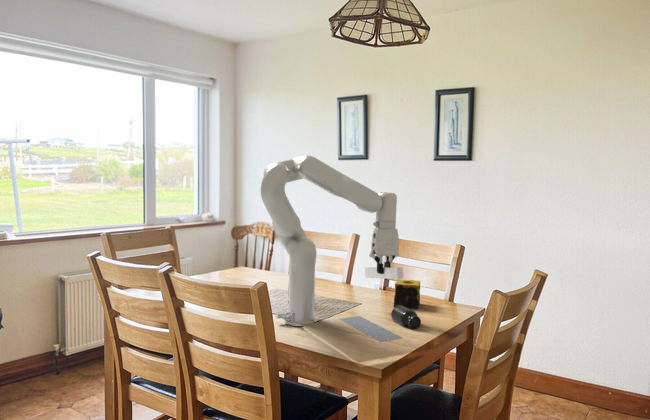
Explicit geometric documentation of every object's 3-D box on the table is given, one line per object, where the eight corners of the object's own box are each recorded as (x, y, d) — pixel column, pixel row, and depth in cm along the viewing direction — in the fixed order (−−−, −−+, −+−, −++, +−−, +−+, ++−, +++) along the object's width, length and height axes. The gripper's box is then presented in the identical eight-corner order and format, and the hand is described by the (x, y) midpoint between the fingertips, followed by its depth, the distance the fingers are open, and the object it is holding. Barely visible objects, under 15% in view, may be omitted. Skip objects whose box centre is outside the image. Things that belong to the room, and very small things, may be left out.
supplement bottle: (410, 312, 195) (427, 322, 184) (397, 326, 194) (414, 336, 183) (399, 300, 193) (416, 309, 182) (387, 313, 192) (403, 323, 181)
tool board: (380, 345, 169) (380, 341, 169) (338, 322, 193) (338, 318, 193) (403, 341, 173) (403, 337, 173) (359, 319, 198) (359, 316, 197)
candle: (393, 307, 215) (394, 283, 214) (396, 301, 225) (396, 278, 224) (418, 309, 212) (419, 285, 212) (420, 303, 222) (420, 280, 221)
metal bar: (397, 278, 188) (396, 267, 189) (365, 277, 208) (364, 267, 208) (403, 278, 189) (402, 267, 190) (370, 277, 209) (370, 267, 209)
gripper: (372, 226, 190) (370, 276, 192) (408, 225, 198) (406, 273, 199) (362, 224, 197) (360, 272, 198) (397, 223, 204) (395, 270, 206)
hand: (383, 272), depth 199 cm, fingers closed on metal bar, 2 cm apart
